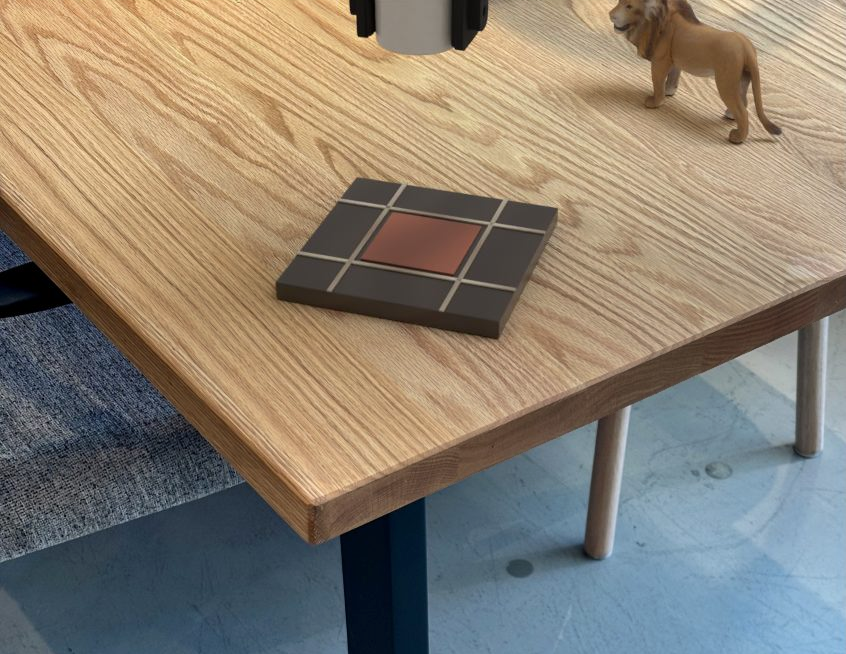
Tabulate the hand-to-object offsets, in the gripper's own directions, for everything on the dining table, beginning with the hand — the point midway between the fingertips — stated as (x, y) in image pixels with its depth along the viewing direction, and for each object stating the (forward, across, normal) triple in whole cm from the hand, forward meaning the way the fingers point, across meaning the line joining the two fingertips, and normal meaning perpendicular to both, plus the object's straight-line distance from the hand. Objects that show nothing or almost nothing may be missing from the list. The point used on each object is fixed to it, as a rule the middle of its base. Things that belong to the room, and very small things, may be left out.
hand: (418, 31), depth 74 cm
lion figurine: (+15, -12, -26) cm, 32 cm away
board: (+15, 0, 0) cm, 15 cm away
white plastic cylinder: (0, 0, 0) cm, 0 cm away
